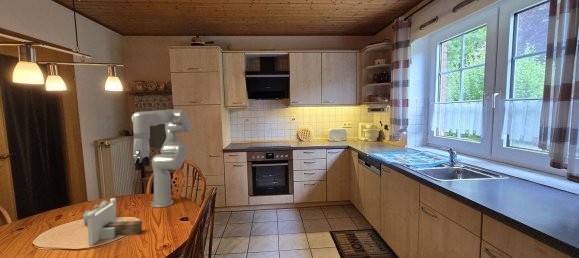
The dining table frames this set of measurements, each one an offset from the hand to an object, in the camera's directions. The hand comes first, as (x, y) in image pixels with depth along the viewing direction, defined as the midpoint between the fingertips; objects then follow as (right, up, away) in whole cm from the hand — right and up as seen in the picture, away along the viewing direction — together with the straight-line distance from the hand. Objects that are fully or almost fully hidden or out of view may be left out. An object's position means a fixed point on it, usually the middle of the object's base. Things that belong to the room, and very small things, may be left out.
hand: (142, 167), depth 134 cm
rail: (0, -29, -15) cm, 33 cm away
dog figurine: (-21, -28, -4) cm, 35 cm away
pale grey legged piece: (-6, -29, -17) cm, 34 cm away
